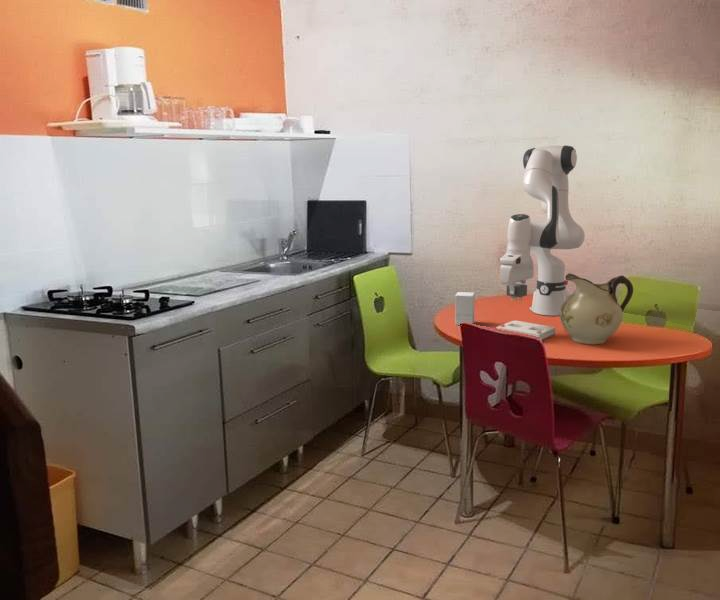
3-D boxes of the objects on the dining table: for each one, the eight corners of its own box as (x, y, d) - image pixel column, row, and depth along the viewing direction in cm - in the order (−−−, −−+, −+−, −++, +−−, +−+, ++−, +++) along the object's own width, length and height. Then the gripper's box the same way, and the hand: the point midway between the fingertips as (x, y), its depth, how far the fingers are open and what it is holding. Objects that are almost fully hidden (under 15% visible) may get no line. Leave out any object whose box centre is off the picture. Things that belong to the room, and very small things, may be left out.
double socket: (513, 327, 286) (514, 319, 285) (555, 334, 274) (555, 326, 274) (496, 334, 276) (496, 325, 275) (538, 342, 264) (538, 333, 263)
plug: (512, 298, 279) (513, 283, 277) (526, 300, 275) (527, 285, 274) (506, 300, 275) (506, 285, 274) (520, 302, 271) (520, 287, 270)
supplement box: (474, 321, 296) (475, 292, 293) (472, 326, 289) (473, 295, 286) (456, 320, 297) (457, 291, 295) (454, 325, 290) (455, 295, 288)
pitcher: (547, 340, 266) (551, 275, 261) (575, 328, 283) (580, 267, 278) (604, 352, 251) (610, 283, 246) (631, 339, 268) (637, 274, 263)
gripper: (524, 253, 281) (522, 287, 284) (497, 259, 266) (496, 295, 269) (538, 254, 277) (536, 289, 280) (512, 261, 262) (511, 297, 265)
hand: (516, 292), depth 274 cm, fingers closed on plug, 5 cm apart
